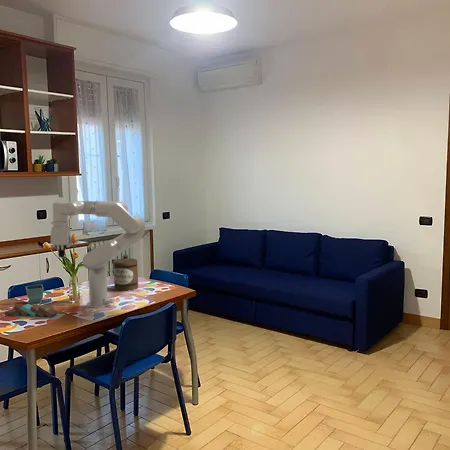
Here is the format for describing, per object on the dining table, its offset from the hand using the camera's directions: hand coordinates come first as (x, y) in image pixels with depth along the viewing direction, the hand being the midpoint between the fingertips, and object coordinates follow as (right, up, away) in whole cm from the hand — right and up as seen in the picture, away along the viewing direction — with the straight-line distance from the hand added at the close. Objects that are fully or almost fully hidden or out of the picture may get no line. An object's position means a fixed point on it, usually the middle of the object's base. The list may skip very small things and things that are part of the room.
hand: (61, 256), depth 258 cm
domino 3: (-1, -28, -19) cm, 34 cm away
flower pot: (-18, -27, +7) cm, 33 cm away
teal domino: (-6, -28, -18) cm, 34 cm away
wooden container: (+27, -23, +40) cm, 54 cm away
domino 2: (-10, -28, -17) cm, 35 cm away
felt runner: (-5, -29, -18) cm, 35 cm away
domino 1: (-15, -28, -17) cm, 36 cm away
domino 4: (+3, -28, -20) cm, 35 cm away
